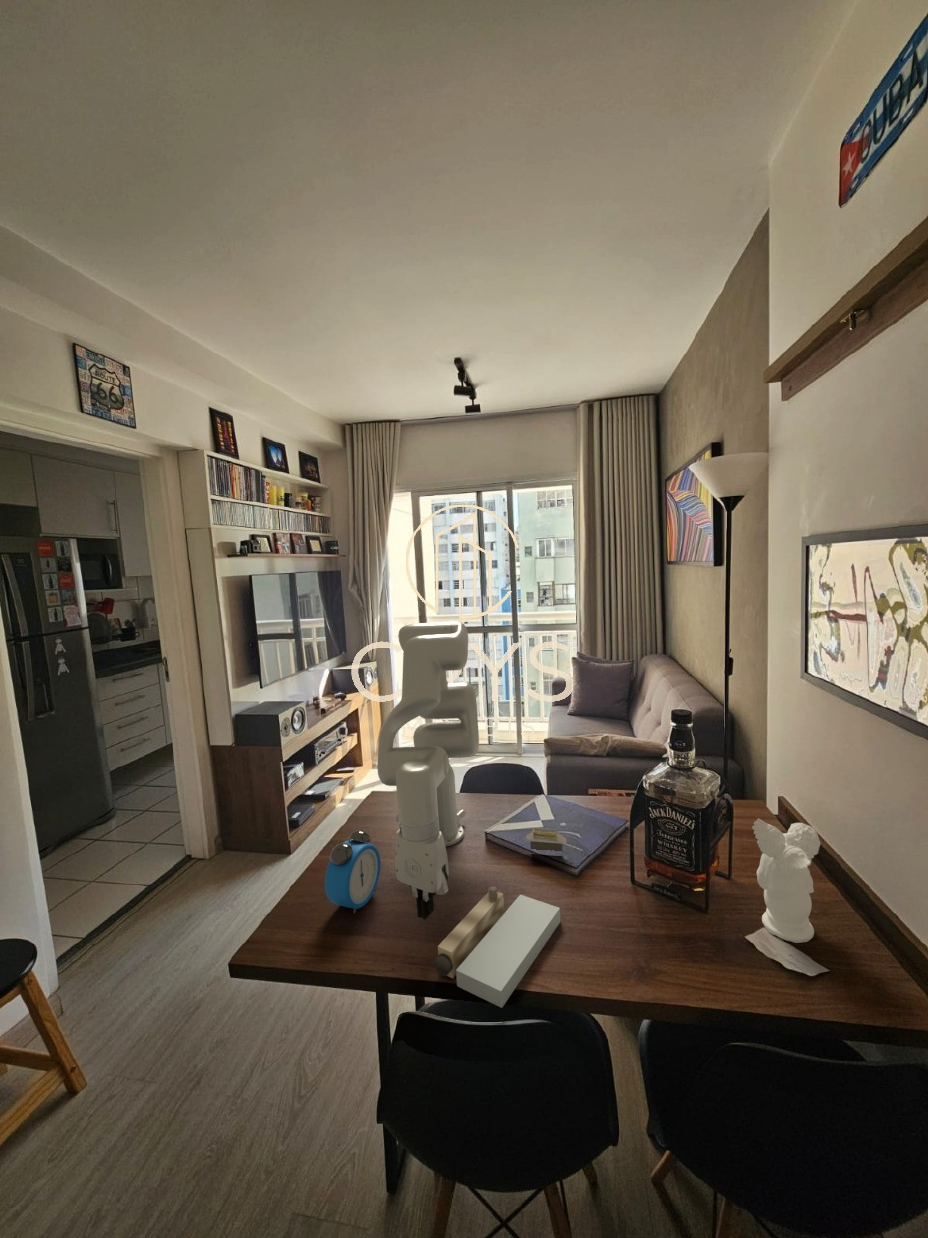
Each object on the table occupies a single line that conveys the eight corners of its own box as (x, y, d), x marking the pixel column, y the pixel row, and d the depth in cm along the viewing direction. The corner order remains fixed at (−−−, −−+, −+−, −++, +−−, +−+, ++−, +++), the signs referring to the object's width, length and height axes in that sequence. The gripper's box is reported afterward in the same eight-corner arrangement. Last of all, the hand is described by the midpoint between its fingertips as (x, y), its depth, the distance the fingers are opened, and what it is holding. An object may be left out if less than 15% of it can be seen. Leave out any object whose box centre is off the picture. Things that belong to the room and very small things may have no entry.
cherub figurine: (807, 915, 104) (811, 809, 101) (841, 962, 91) (846, 843, 89) (742, 910, 106) (744, 807, 103) (766, 955, 93) (769, 839, 91)
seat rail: (521, 907, 110) (520, 894, 110) (560, 922, 105) (559, 908, 105) (457, 986, 91) (456, 970, 90) (501, 1008, 86) (500, 991, 85)
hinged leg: (491, 911, 109) (489, 883, 109) (504, 916, 108) (503, 887, 107) (434, 976, 93) (432, 943, 92) (449, 983, 91) (447, 949, 90)
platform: (515, 840, 139) (514, 816, 138) (584, 846, 134) (583, 821, 133) (507, 865, 127) (506, 839, 127) (582, 872, 122) (581, 846, 122)
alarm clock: (349, 923, 109) (343, 855, 107) (325, 917, 111) (319, 850, 110) (383, 887, 120) (378, 825, 119) (361, 882, 123) (356, 821, 121)
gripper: (376, 826, 100) (383, 913, 102) (440, 846, 92) (447, 940, 94) (400, 808, 106) (407, 891, 108) (463, 825, 98) (468, 914, 101)
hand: (425, 914), depth 101 cm, fingers closed
